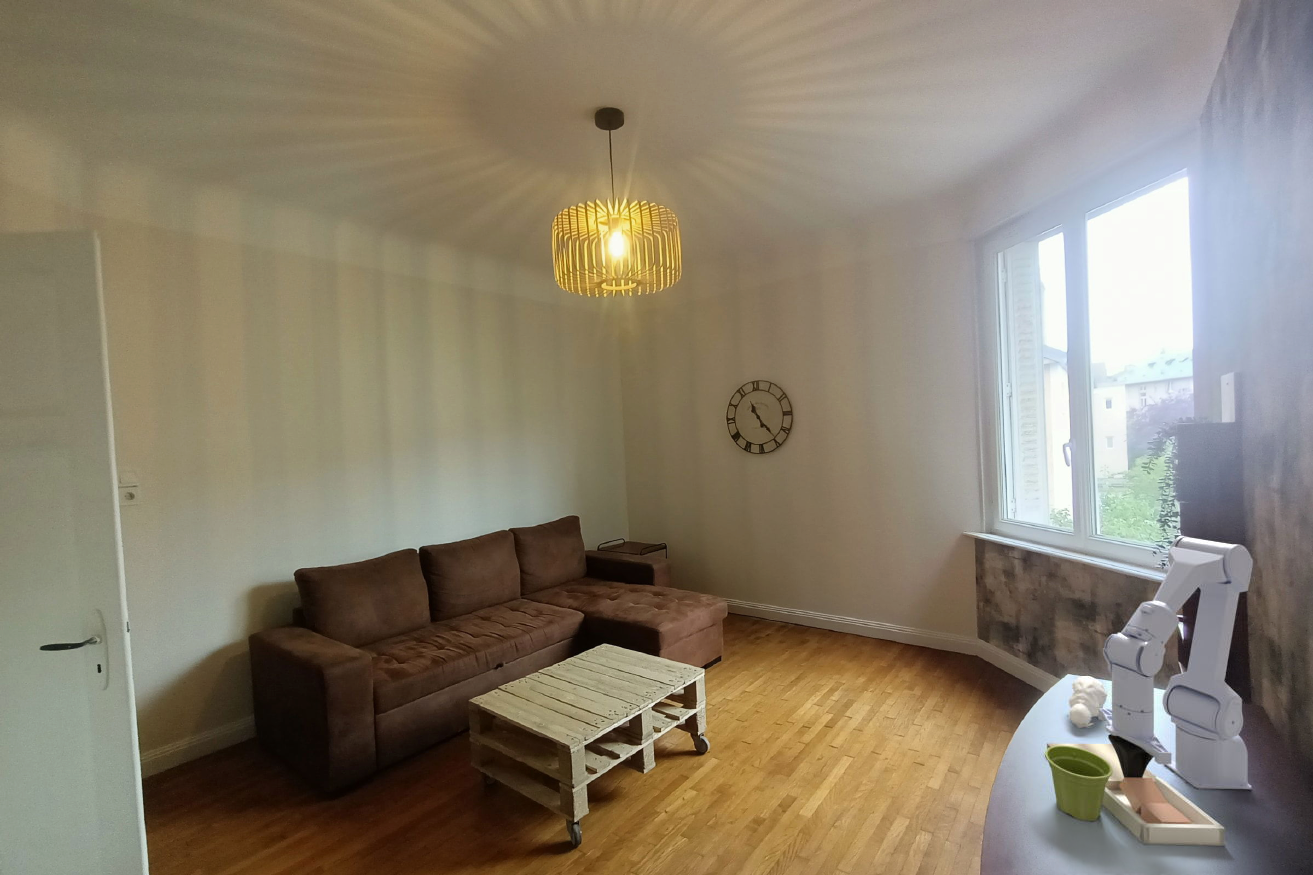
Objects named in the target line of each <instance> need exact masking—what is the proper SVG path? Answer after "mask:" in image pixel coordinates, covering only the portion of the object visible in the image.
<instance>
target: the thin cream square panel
mask: <svg viewBox="0 0 1313 875" xmlns="http://www.w3.org/2000/svg"><path fill="white" fill-rule="evenodd" d="M1052 746H1072V747H1077V748H1081V749H1084V750H1087V751H1090V752H1092V753H1094V754H1096V755H1098V756H1100V757H1102V758H1103V759H1105V760H1106V761H1107V762H1108V763H1109V764H1110V765H1111V767H1112V769H1113V773H1112V775H1111V776H1110V777H1109V779H1108V782H1107V783H1106V786H1105V787H1106V788H1107V789H1108V790H1122V789H1121V788H1120V786H1119V785H1120V783H1121V782H1122V780H1123V779H1124V776H1123V773H1122V769H1121V766H1120V762H1119V759H1118V756H1117V754H1116V751H1115V749H1114V747H1113V745H1112V744H1111V743H1059V742H1058V743H1053V742H1051V743H1049V742H1048V743H1046V750H1047V749H1048V748H1050V747H1052ZM1155 777H1157V776H1156V775H1155V774H1154V773H1152V772H1151V771H1150V770H1149V769H1147V768H1146V770H1145V772H1144V775H1143V778H1152V780H1153V781H1154V783H1155Z"/></svg>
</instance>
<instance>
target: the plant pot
mask: <svg viewBox="0 0 1313 875" xmlns="http://www.w3.org/2000/svg"><path fill="white" fill-rule="evenodd" d="M1044 756H1045V758H1046V760H1047V762H1048V765H1049V767H1050V771H1051V775H1052V776H1051V777H1052V781H1053V782H1052V783H1053V787H1054V794H1055V799H1056V800H1055V801H1056V805H1057V808H1059V809H1060V810H1061V811H1062V812H1063V813H1067V814H1069V815H1071V816H1072V817H1073V818H1075V819H1078V820H1080V821H1081V820H1082V821H1087V822H1088V821H1090V822H1091V821H1096V820H1097V819H1098V818H1099V817H1100V816H1101V814H1102V813H1101V812H1102V806H1103V804H1102V802H1103V796H1104V791H1105V786H1106V783H1107V782H1108V779H1109V777H1110V776H1111V775H1112V773H1113V769H1112V767H1111V765H1110V764H1109V763H1108V762H1107V761H1106V760H1105V759H1103V758H1102V757H1100V756H1098V755H1096V754H1094V753H1092V752H1090V751H1087V750H1084V749H1081V748H1077V747H1072V746H1052V747H1050V748H1048V749H1047V748H1046V750H1045V753H1044Z"/></svg>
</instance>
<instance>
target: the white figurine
mask: <svg viewBox="0 0 1313 875" xmlns="http://www.w3.org/2000/svg"><path fill="white" fill-rule="evenodd" d="M1071 686H1072V689H1073V693H1072V694H1071V696H1070V697H1069V699H1068V705H1069V707H1070V709H1069V715H1067V714H1066V715H1067V717H1068V718H1069V720H1070V722H1071V723H1073V724H1074V725H1075V726H1077V728H1079V729H1082V728H1090V729H1091V728H1092V727H1091V726H1093V725H1094V724H1095V722H1094V723H1092V722H1091V720H1092V717H1093V718H1094V717H1096V718H1097V719H1099V709H1104V708H1103V707H1104V705H1105V703H1106V702H1107V696H1108V691H1107V690H1106V689H1105V687H1104V685H1103V683H1102V682H1101V681H1100V680H1098V679H1096V678H1095V677H1093V676H1088V675H1085V676H1084V675H1083V676H1078V677H1077V678H1076V679H1075V681H1074V682H1072V683H1071Z"/></svg>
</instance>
